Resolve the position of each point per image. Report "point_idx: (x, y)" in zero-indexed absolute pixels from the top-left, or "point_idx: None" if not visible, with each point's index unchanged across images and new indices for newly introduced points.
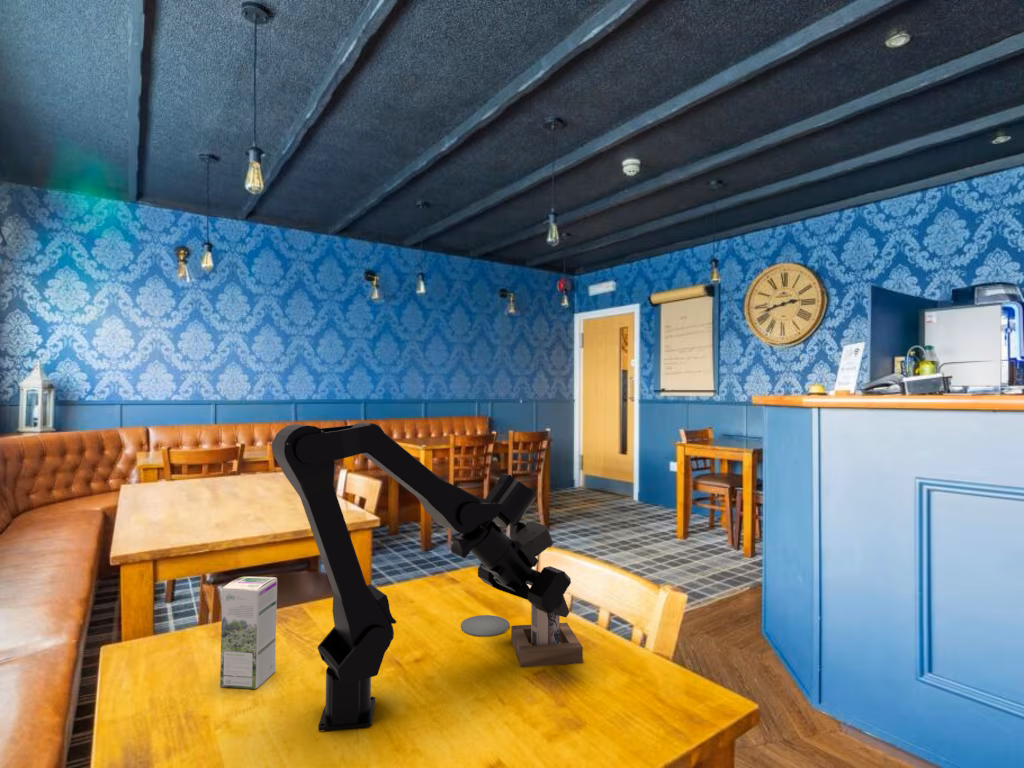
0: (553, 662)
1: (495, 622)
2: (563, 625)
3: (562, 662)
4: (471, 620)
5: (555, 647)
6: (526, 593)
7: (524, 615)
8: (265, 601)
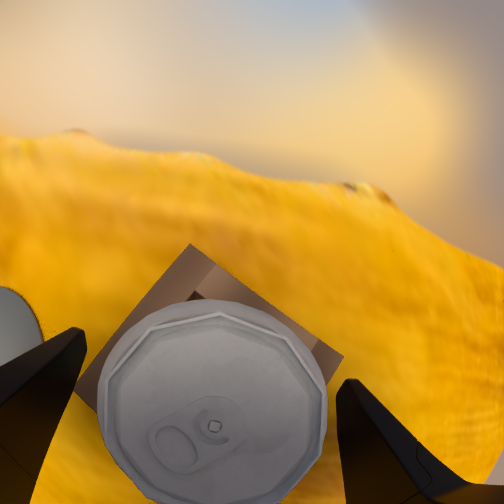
0: None
1: (1, 324)
2: (195, 270)
3: None
4: None
5: None
6: (63, 379)
7: (29, 224)
8: None
